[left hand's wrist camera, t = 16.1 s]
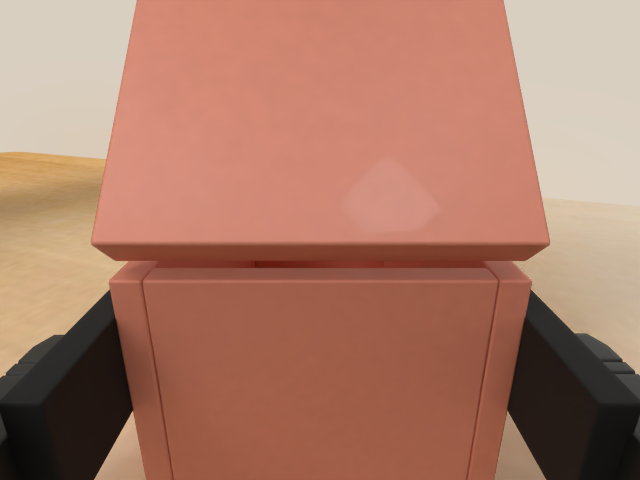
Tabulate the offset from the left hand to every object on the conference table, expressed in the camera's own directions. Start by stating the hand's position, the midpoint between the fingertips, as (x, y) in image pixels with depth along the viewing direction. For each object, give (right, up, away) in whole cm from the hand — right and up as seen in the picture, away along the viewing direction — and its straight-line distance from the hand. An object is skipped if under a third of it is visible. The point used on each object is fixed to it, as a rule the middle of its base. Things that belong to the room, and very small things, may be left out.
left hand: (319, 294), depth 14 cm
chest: (0, -5, +7) cm, 8 cm away
